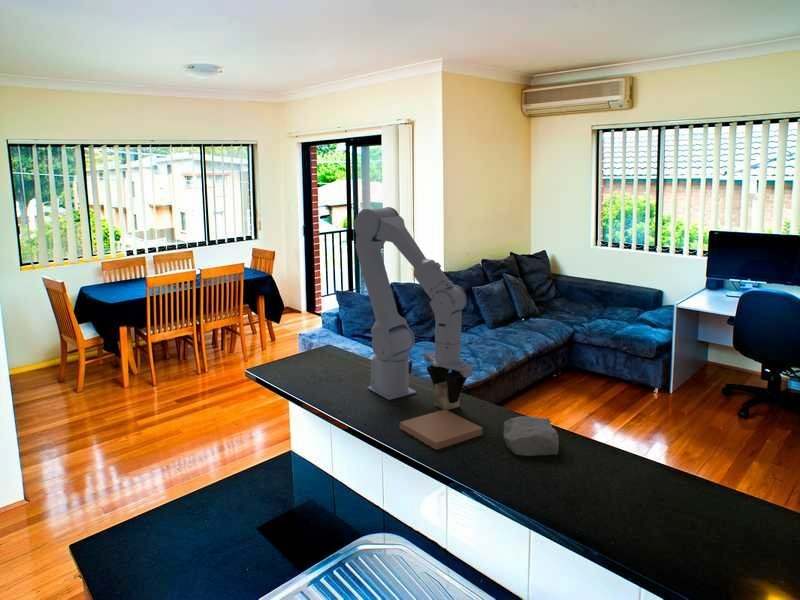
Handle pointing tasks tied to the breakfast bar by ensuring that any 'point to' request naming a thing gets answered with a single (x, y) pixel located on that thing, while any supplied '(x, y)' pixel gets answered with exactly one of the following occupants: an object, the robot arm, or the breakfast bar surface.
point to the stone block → (531, 436)
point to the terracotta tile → (441, 429)
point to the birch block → (443, 397)
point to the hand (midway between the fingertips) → (446, 399)
